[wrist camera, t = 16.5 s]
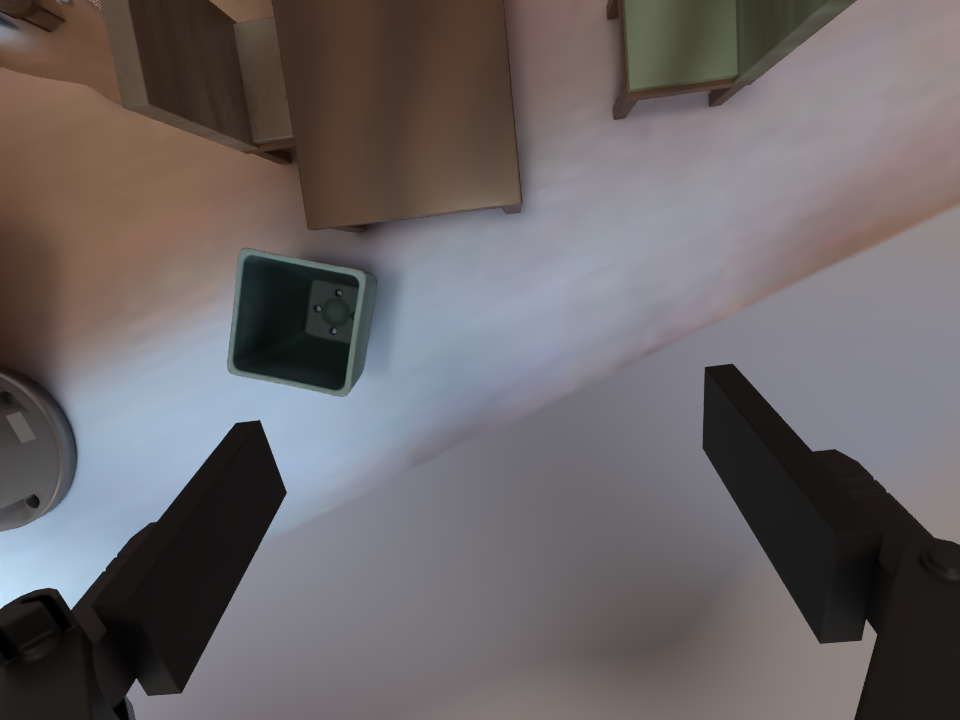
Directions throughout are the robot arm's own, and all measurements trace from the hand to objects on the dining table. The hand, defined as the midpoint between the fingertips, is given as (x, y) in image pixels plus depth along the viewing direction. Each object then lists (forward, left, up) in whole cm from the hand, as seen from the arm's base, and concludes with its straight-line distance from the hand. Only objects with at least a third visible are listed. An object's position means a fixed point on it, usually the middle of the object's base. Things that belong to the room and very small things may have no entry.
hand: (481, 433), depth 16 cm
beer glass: (-28, +23, -29) cm, 47 cm away
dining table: (-5, +18, -29) cm, 35 cm away
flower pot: (-14, +2, -29) cm, 33 cm away
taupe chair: (-13, +18, -29) cm, 37 cm away
